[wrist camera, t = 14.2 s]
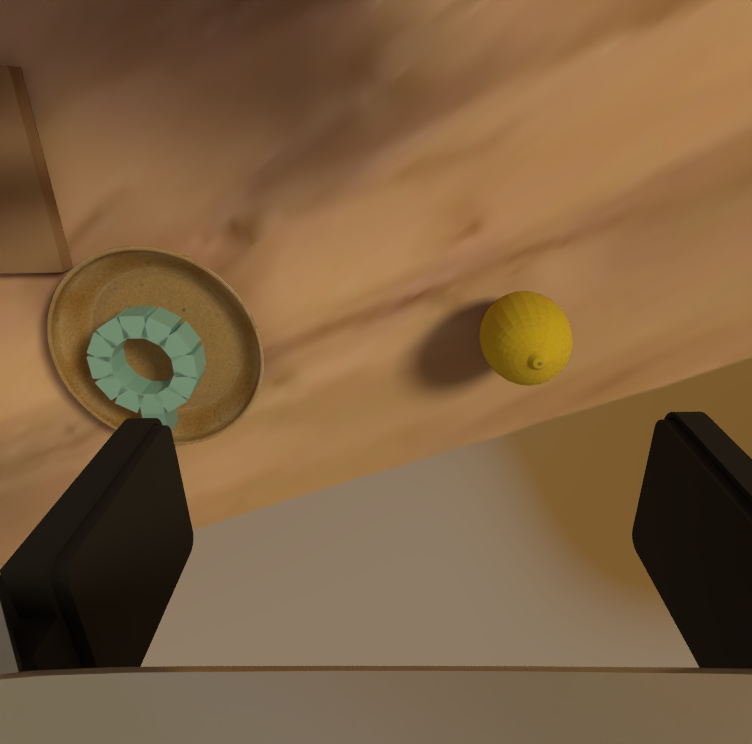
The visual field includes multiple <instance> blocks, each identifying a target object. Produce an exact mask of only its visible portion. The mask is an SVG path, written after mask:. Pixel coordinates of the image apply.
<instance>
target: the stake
mask: <svg viewBox="0 0 752 744" xmlns="http://www.w3.org/2000/svg"><path fill="white" fill-rule="evenodd" d="M71 268H73V267H72V263H71V259H70V255H69V251H68V247H67V244H66V240H65V236H64V232H63V228H62V224H61V221H60V217H59V213H58V209H57V205H56V201H55V198H54V194H53V190H52V186H51V182H50V178H49V175H48V171H47V167H46V163H45V159H44V155H43V152H42V148H41V144H40V140H39V136H38V132H37V129H36V125H35V121H34V117H33V113H32V109H31V106H30V102H29V98H28V94H27V90H26V86H25V83H24V79H23V75H22V71H21V67H10V66H4V67H0V274H2V273H54V272H65V271H67V270H69V269H71Z"/></svg>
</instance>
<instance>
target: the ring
mask: <svg viewBox="0 0 752 744" xmlns="http://www.w3.org/2000/svg"><path fill="white" fill-rule="evenodd" d="M181 319H182V317H180V316H178V315H176V314H174V313H172V312H170V311H168V310H166V309H164V308H161V307H159V308H158V309H157V310H156V307H155V306H131V307H130V308H128V307H127V308H126V309H124V310H123V311H121V312H120V313H118V314H117V315H115V316H114V317H112V318H111V319H109V320H108V321H107V322H105V323H104V324H103V325H102V326H100V327H99V328H98V329H96V330H97V331H95V332H94V333H93V336H92V339H91V342H90V345H89V347H88V350H87V353H88V354H90V355H88V356H87V360H88V364H89V368H90V371H91V375H92V379H98V380H97V381H96V382H95V383H96V385H97V386H98V387H99V388H100V389H101V390H102V391H103V392H104V393H105V394H106V395H107V397H108V398H109V399H110V400H112V399H114V398H116V397H117V399H116V402H115V403H116V404H118V405H120V406H122V407H125V408H127V409H129V410H131V411H134V412H136V413H138V411H139V410H140V409H141V415H142V418H158V419H160V421H161V423H162V425H168V426H169V427H170V429H171V431H172V430H173V429H174V427H175V426H176V424H177V423H178V421H179V418H178V413H177V407H179V406H180V405H182V404H184V403H186V402H187V400H188V399H189V398H190V397H191V395H192V394H193V392H194V391H195V389H196V388H197V386H198V384H199V382H200V380H201V378H202V376H203V373H204V371H205V369H206V368H205V365H206V359H205V353H204V347H203V343H198V342H199V341H200V340H201V339H200V337H199V336H198V335H197V334H196V332H195V331H194V330H193V329H192V327H191V326H190V325H189V324H188V322H187V321H184V322H183V323H181V324H180V322H181ZM179 324H180V325H179ZM138 338H144V339H147V340H149V341H151V342H153V343H155V344H157V345H159V346H161V347H162V349H163V350H164V351H165V352H166V353H167V355H168V356H169V357H170V358H171V360H172V365H173V370H174V376H173V377H172V378H171V379H169V380H167V381H151V380H149V379H146V378H144V377H142V376H140V375H138V374H137V373H136V372H135V371H134V370H133V369H132V368H131V367H130V365H129V364H128V363H127V361H126V357H125V353H124V349H123V347H124V345H125V342H126V339H138Z"/></svg>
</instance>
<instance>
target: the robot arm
mask: <svg viewBox="0 0 752 744" xmlns="http://www.w3.org/2000/svg"><path fill="white" fill-rule="evenodd" d="M632 538H633V544H634V548H635V550H636V552H637V554H638V555H639V557H640V559H641V561H642V563H643V565H644V566H645V568H646V570H647V572H648V574H649V576H650V577H651V579H652V581H653V583H654V585H655V587H656V588H657V590H658V592H659V594H660V596H661V598H662V599H663V601H664V603H665V605H666V607H667V609H668V610H669V612H670V614H671V616H672V618H673V619H674V621H675V623H676V625H677V627H678V629H679V630H680V632H681V634H682V636H683V638H684V640H685V642H686V643H687V645H688V647H689V649H690V650H691V652H692V654H693V656H694V658H695V660H696V662H697V664H698V665H699V667H700V668H677V667H676V668H675V667H674V668H673V667H671V668H670V667H665V668H664V667H554V666H548V667H547V666H546V667H545V666H175V667H173V666H172V667H140V666H141V664H142V662H143V659H144V657H145V655H146V652H147V650H148V648H149V646H150V643H151V641H152V639H153V637H154V634H155V632H156V630H157V628H158V625H159V623H160V621H161V619H162V616H163V614H164V611H165V609H166V607H167V605H168V603H169V600H170V598H171V596H172V594H173V591H174V589H175V587H176V584H177V582H178V580H179V578H180V575H181V573H182V571H183V569H184V566H185V564H186V562H187V559H188V557H189V555H190V553H191V550H192V546H193V530H192V525H191V521H190V516H189V511H188V507H187V502H186V497H185V492H184V488H183V483H182V478H181V473H180V469H179V464H178V459H177V454H176V450H175V445H174V440H173V435H172V431H171V429H170V427H169V426H168V425H162V423H161V421H160V419H158V418H128V419H126V420H125V421H124V422H123V423H122V424H121V425H120V426H119V428H118V429H117V430H116V431H115V432H114V434H113V435H112V436H111V437H110V438H109V440H108V441H107V442H106V443H105V444H104V446H103V447H102V448H101V449H100V450H99V452H98V453H97V454H96V455H95V457H94V458H93V459H92V460H91V461H90V463H89V464H88V465H87V466H86V467H85V469H84V470H83V471H82V472H81V473H80V475H79V476H78V477H77V478H76V479H75V481H74V482H73V483H72V484H71V485H70V487H69V488H68V489H67V490H66V491H65V493H64V494H63V495H62V496H61V497H60V499H59V500H58V501H57V502H56V503H55V505H54V506H53V507H52V508H51V509H50V511H49V512H48V513H47V514H46V516H45V517H44V518H43V519H42V520H41V522H40V523H39V524H38V525H37V526H36V528H35V529H34V530H33V531H32V532H31V534H30V535H29V536H28V537H27V538H26V540H25V541H24V542H23V543H22V544H21V546H20V547H19V548H18V549H17V550H16V552H15V553H14V554H13V555H12V556H11V558H10V559H9V560H8V561H7V562H6V564H5V565H4V566H3V567H2V568H1V570H0V573H1V575H0V744H752V459H751V458H750V457H749V456H748V455H747V454H746V453H745V452H744V451H743V450H742V449H741V448H740V447H739V446H738V445H737V444H736V443H735V442H734V441H733V440H732V439H731V438H730V437H729V436H728V435H727V434H726V433H725V432H723V430H722V429H721V428H719V426H717V424H715V423H714V421H713V420H712V419H711V418H709V417H708V416H707V415H706V414H705V413H703V412H670V413H668V414H667V415H666V417H665V419H664V420H659V421H657V423H656V425H655V428H654V433H653V438H652V442H651V447H650V452H649V456H648V461H647V465H646V470H645V475H644V479H643V484H642V489H641V493H640V498H639V502H638V507H637V512H636V517H635V521H634V526H633V532H632Z"/></svg>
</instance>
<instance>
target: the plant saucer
mask: <svg viewBox="0 0 752 744" xmlns="http://www.w3.org/2000/svg"><path fill="white" fill-rule="evenodd" d="M131 306H155V307H156V310H157V309H158V308H159V307H161V308H164V309H166V310H168V311H170V312H172V313H174V314H176V315H178V316H180V317H182V319H181V322H180V324H181V323H183V322H184V321H187V322H188V324H189V325H190V326H191V327H192V329H193V330H194V331H195V332H196V334H197V335H198V336H199V337H200V339H201V340H200V341H199V342H198V343H203V347H204V353H205V359H206V365H205V368H206V369H205V371H204V373H203V376H202V378H201V380H200V382H199V384H198V386H197V388H196V389H195V391H194V392H193V394H192V395H191V397H190V398H189V399H188V400H187V402H186V403H184V404H182V405H180V406H179V407H177V413H178V418H179V421H178V423H177V424H176V426H175V427H174V429H173V430H172V435H173V440H174V445H182V444H192V443H197V442H201V441H205V440H208V439H211V438H214V437H216V436H218V435H220V434H222V433H224V432H226V431H227V430H229V429H230V428H232V427H233V426H234V425H235V424H237V423H238V422H239V421H240V420H241V419H242V418H243V417H244V416H245V414H246V413H247V412H248V411H249V409H250V408H251V406H252V404H253V403H254V401H255V399H256V397H257V394H258V393H259V390H260V387H261V383H262V378H263V371H264V356H263V347H262V343H261V338H260V335H259V332H258V329H257V326H256V324H255V322H254V320H253V318H252V316H251V314H250V312H249V310H248V309H247V307H246V305H245V304H244V302H243V301H242V300H241V298H240V297H239V296H238V295H237V293H236V292H235V291H234V290H233V289H232V288H231V287H230V286H229V285H228V284H227V283H226V282H225V281H224V280H223V279H222V278H221V277H219V276H218V275H217V274H215V273H214V272H213V271H211V270H210V269H208V268H207V267H205V266H204V265H202V264H200V263H198V262H197V261H195V260H193V259H191V258H189V257H186V256H184V255H181V254H178V253H175V252H172V251H169V250H165V249H160V248H155V247H148V246H127V247H118V248H113V249H109V250H105V251H102V252H99V253H96V254H94V255H92V256H90V257H88V258H87V259H85V260H83V261H82V262H80V263H79V264H77V265H76V266H75V267H74V268H73V269H72V270H70V271H69V272H68V274H67V275H66V276H65V277H64V279H63V280H62V281H61V283H60V284H59V285H58V287H57V289H56V291H55V293H54V295H53V298H52V301H51V303H50V308H49V312H48V318H47V337H48V345H49V349H50V352H51V356H52V359H53V361H54V365H55V368H56V369H57V372H58V374H59V376H60V377H61V379H62V381H63V382H64V384H65V385H66V387H67V388H68V390H69V391H70V392H71V394H72V395H73V396H74V397H75V398H76V399H77V401H78V402H79V403H80V404H81V405H83V406H84V407H85V408H86V409H87V410H88V411H89V412H90V413H91V414H92V415H93V416H95V417H96V418H97V419H99V420H100V421H101V422H103V423H104V424H106V425H108V426H109V427H111V428H113V429H115V430H117V429H118V428H119V426H120V425H121V424H122V423H123V422H124V421H125V420H126V419H128V418H142V415H141V409H140V410H139V411H138V413H136V412H134V411H131V410H129V409H127V408H125V407H122V406H120V405H118V404H116V403H115V402H116V399H117V397H116V398H114V399H112V400H110V399H109V398H108V397H107V395H106V394H105V393H104V392H103V391H102V390H101V389H100V388H99V387H98V386H97V385H96V383H95V382H96V381H97V380H98V379H92V375H91V371H90V368H89V364H88V360H87V356H88V355H90V354H88V353H87V350H88V347H89V345H90V342H91V339H92V336H93V333H94V332H95V331H97V330H96V329H98V328H99V327H100V326H102V325H103V324H104V323H105V322H107V321H108V320H109V319H111V318H112V317H114V316H115V315H117V314H118V313H120V312H121V311H123V310H124V309H126V308H127V307H128V308H130V307H131ZM180 324H179V325H180ZM123 349H124V353H125V357H126V361H127V363H128V364H129V365H130V367H131V368H132V369H133V370H134V371H135V372H136V373H137V374H138V375H140V376H142V377H144V378H146V379H149V380H151V381H167V380H169V379H171V378H172V377H173V376H174V370H173V365H172V360H171V358H170V357H169V356H168V355H167V353H166V352H165V351H164V350H163V349H162V347H161V346H159V345H157V344H155V343H153V342H151V341H149V340H147V339H144V338H138V339H126V342H125V345H124V347H123Z"/></svg>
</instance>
